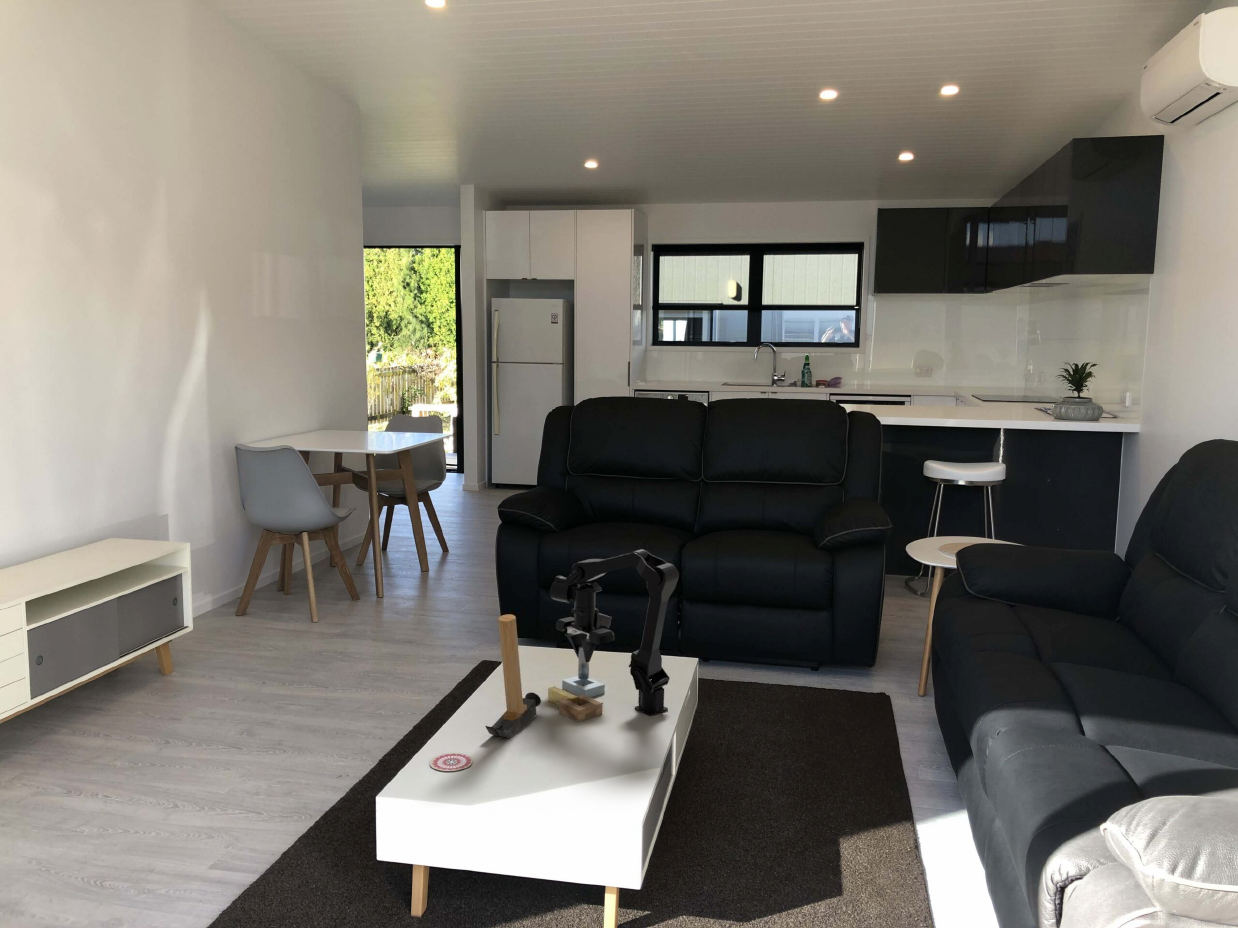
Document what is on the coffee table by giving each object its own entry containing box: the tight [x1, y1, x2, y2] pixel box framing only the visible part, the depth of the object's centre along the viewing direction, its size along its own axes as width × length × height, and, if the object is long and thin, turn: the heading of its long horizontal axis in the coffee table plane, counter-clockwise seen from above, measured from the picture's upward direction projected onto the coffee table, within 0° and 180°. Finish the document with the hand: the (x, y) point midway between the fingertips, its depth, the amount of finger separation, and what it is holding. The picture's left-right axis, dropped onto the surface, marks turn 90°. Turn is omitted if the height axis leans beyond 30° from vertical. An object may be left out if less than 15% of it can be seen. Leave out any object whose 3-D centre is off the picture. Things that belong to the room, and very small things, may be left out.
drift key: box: [547, 686, 578, 706], centre depth 245 cm, size 10×2×4 cm, turn 42°
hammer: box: [485, 613, 542, 739], centre depth 226 cm, size 20×5×30 cm, turn 158°
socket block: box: [558, 694, 603, 723], centre depth 239 cm, size 8×8×3 cm
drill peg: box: [577, 645, 590, 680], centre depth 255 cm, size 3×3×9 cm
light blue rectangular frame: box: [561, 675, 606, 698], centre depth 256 cm, size 10×7×2 cm
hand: (584, 660), depth 255 cm, fingers closed on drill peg, 3 cm apart
